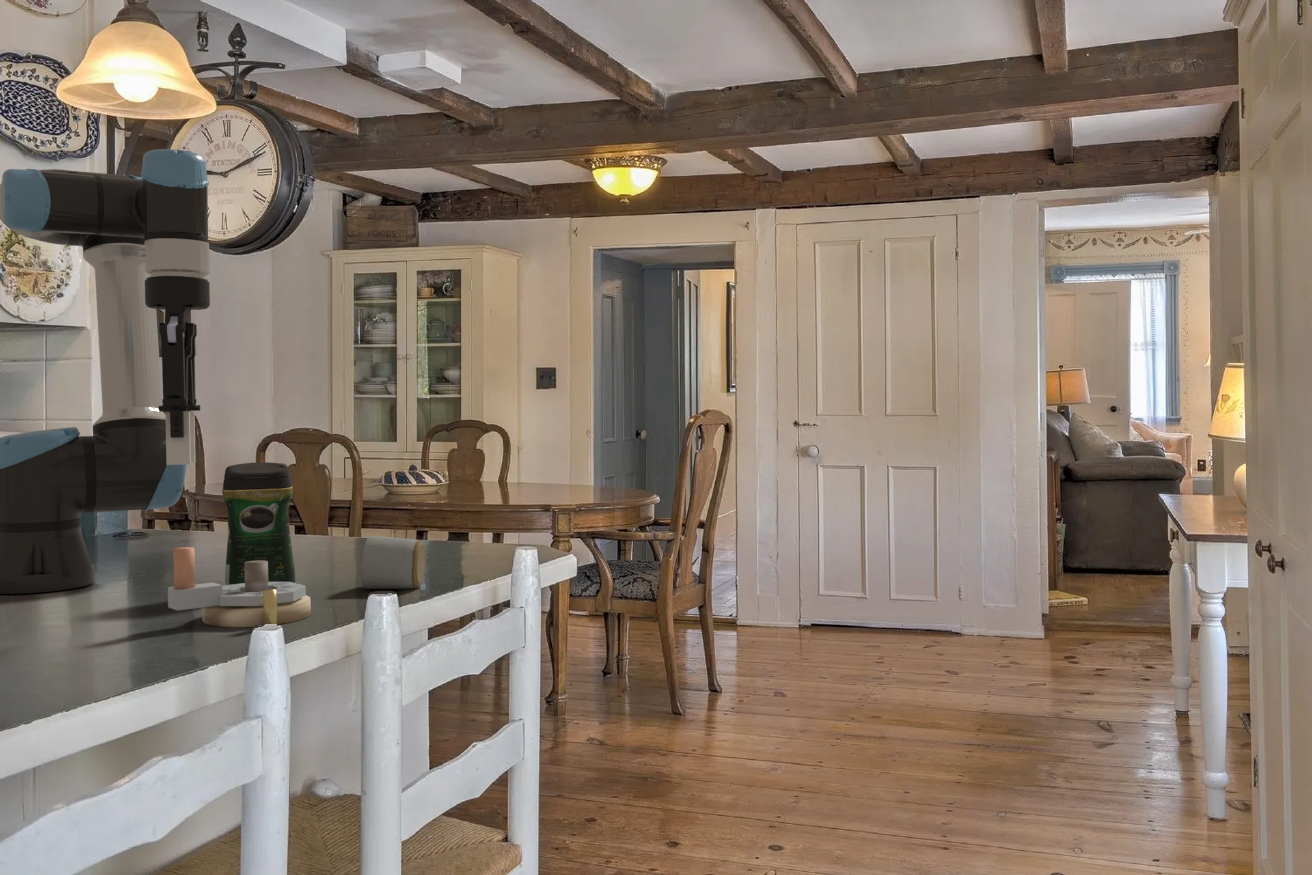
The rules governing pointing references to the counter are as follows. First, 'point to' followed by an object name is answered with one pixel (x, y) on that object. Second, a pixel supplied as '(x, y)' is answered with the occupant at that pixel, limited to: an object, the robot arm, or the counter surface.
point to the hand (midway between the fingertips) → (181, 463)
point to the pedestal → (254, 614)
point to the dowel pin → (270, 606)
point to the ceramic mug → (392, 563)
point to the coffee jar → (258, 520)
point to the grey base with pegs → (218, 588)
